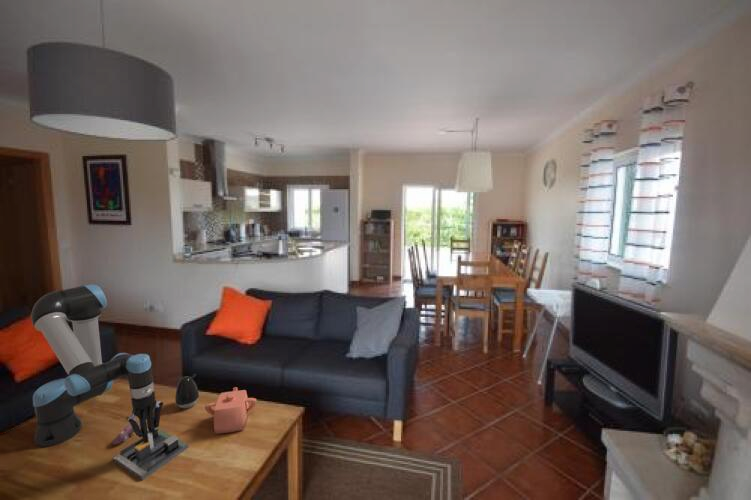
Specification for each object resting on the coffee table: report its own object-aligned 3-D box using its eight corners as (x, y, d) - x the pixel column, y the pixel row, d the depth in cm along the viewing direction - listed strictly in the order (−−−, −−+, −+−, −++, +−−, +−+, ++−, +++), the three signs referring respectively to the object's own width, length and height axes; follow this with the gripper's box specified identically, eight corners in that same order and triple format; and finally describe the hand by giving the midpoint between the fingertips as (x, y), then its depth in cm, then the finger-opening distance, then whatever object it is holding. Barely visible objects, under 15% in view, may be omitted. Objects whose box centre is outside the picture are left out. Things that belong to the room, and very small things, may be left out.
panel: (113, 460, 133) (111, 446, 132) (159, 432, 148) (158, 419, 147) (142, 480, 124) (140, 465, 123) (188, 447, 139) (187, 434, 138)
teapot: (255, 430, 150) (253, 401, 147) (202, 437, 145) (199, 408, 143) (260, 403, 169) (259, 377, 166) (213, 409, 164) (211, 383, 162)
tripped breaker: (135, 457, 132) (134, 446, 131) (146, 450, 136) (145, 439, 135) (140, 460, 131) (138, 449, 130) (150, 453, 134) (149, 442, 133)
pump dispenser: (204, 402, 169) (201, 375, 166) (183, 414, 160) (180, 385, 158) (192, 396, 174) (190, 369, 172) (172, 407, 166) (168, 378, 163)
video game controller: (119, 449, 141) (123, 437, 139) (110, 443, 141) (114, 431, 139) (139, 433, 150) (144, 421, 148) (131, 428, 151) (135, 416, 149)
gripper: (130, 406, 124) (138, 461, 128) (165, 387, 135) (171, 439, 139) (118, 400, 127) (127, 455, 131) (154, 383, 139) (160, 433, 143)
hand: (150, 447), depth 135 cm, fingers closed
